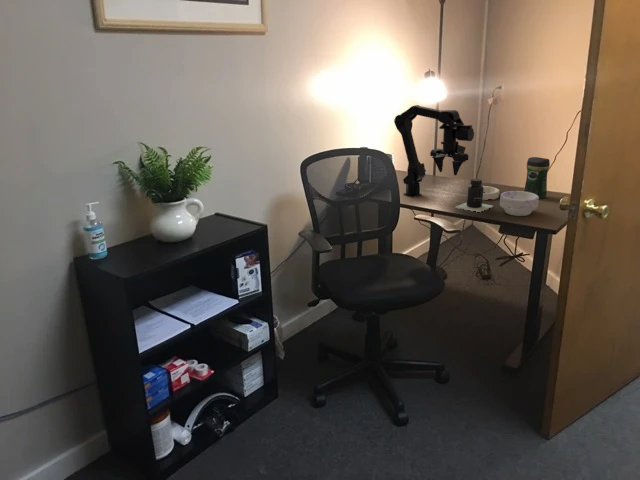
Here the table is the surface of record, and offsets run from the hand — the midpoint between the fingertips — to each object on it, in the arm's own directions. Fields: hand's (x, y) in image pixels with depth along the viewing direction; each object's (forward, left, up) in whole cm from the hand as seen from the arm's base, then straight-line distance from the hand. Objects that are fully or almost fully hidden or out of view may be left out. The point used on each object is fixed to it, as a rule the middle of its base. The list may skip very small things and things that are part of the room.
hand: (448, 173), depth 239 cm
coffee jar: (+20, +37, -13) cm, 44 cm away
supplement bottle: (+15, +2, -13) cm, 20 cm away
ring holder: (+4, +20, -13) cm, 24 cm away
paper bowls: (+32, +10, -13) cm, 36 cm away
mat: (+15, +2, -13) cm, 20 cm away
